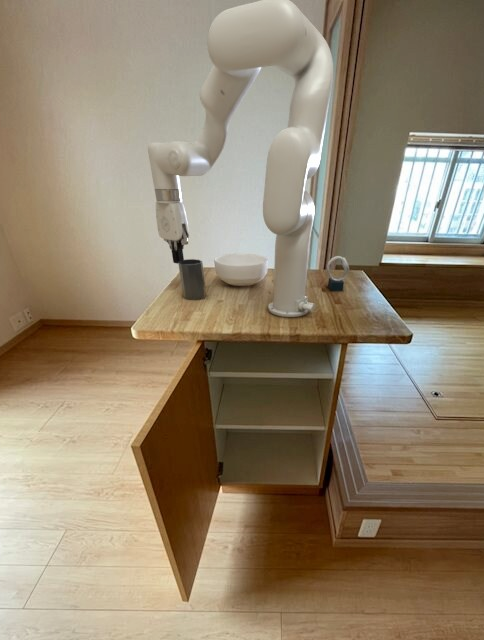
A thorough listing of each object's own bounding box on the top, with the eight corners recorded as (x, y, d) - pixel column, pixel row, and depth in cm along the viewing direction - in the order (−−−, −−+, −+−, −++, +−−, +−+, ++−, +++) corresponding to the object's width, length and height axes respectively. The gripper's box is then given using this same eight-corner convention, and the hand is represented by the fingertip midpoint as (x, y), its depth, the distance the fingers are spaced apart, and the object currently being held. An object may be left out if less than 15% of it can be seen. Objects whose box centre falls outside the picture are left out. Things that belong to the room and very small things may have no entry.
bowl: (244, 294, 108) (243, 269, 103) (205, 283, 118) (202, 259, 113) (277, 281, 121) (278, 258, 116) (239, 272, 130) (238, 250, 125)
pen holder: (210, 295, 107) (206, 261, 100) (193, 301, 102) (188, 266, 95) (195, 291, 110) (191, 258, 104) (179, 296, 105) (173, 262, 99)
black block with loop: (347, 291, 113) (353, 258, 106) (326, 291, 113) (330, 258, 106) (344, 286, 118) (349, 254, 111) (323, 286, 117) (326, 254, 111)
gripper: (143, 195, 93) (155, 261, 104) (175, 198, 86) (184, 268, 97) (163, 194, 98) (173, 257, 109) (195, 197, 91) (202, 264, 102)
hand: (178, 262), depth 103 cm, fingers closed
